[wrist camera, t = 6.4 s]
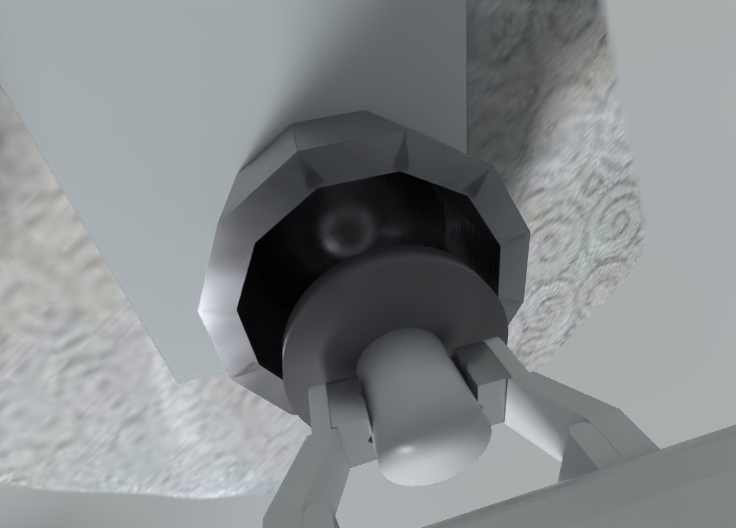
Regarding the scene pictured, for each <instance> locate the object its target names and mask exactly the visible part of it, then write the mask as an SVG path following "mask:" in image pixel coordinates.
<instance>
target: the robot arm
mask: <svg viewBox="0 0 736 528" xmlns="http://www.w3.org/2000/svg"><path fill="white" fill-rule="evenodd" d="M451 358H452V360H453V362H454V363H455V365H456V367H457V368H458V370H459V372H460V373H461V375H462V377H463V378H464V380H465V382H466V383H467V385H468V387H469V388H470V390H471V392H472V393H473V395H474V397H475V398H476V400H477V402H478V403H479V405H480V407H481V408H482V410H483V412H484V413H485V415H486V417H487V418H488V420H489V422H490V424H491V425H494V424H498V423H502V422H505V424H506V425H508V426H509V427H511V428H512V429H514V430H515V431H517V432H518V433H519V434H521V435H523V436H524V437H526V438H527V439H528V440H530V441H531V442H532V443H534V444H535V445H537V446H538V447H540V448H541V449H543V450H544V451H546V452H547V453H549V454H550V455H551V456H553V457H554V458H556V459H557V460H559V461H561V462H562V465H561V469H560V474H559V478H558V483H557V484H554V485H550V486H547V487H544V488H541V489H538V490H536V491H532V492H529V493H526V494H523V495H520V496H517V497H514V498H511V499H508V500H505V501H502V502H499V503H495V504H492V505H489V506H487V507H483V508H480V509H477V510H474V511H471V512H468V513H465V514H462V515H459V516H456V517H453V518H450V519H447V520H444V521H441V522H438V523H435V524H432V525H429V526H426V527H422V528H736V425H734V426H730V427H727V428H724V429H721V430H718V431H715V432H712V433H709V434H706V435H703V436H700V437H697V438H694V439H691V440H688V441H685V442H681V443H678V444H675V445H673V446H669V447H666V448H663V449H659V448H658V447H657V446H656V445H655V444H654V443H653V442H652V441H651V440H650V439H649V438H648V437H647V436H646V435H645V434H644V433H643V432H642V431H641V430H640V429H639V428H638V427H637V426H636V425H635V424H634V423H633V422H632V421H631V420H630V419H629V418H628V417H627V416H626V415H625V414H624V413H623V412H622V411H621V410H620V409H618V408H616V407H613V406H611V405H609V404H607V403H604V402H602V401H600V400H598V399H595V398H593V397H591V396H589V395H586V394H584V393H582V392H579V391H577V390H575V389H573V388H570V387H568V386H566V385H563V384H561V383H559V382H557V381H554V380H552V379H550V378H548V377H545V376H543V375H541V374H539V373H536V372H530V373H529V372H528V370H527V369H526V368H525V367H524V366H523V364H522V363H521V362H520V361H519V360H518V359H517V357H516V356H515V355H514V354H513V353H512V351H511V350H510V349H509V348H508V347H507V346H506V344H505V343H504V342H503V341H502V340H501V338H499V337H493V338H490V339H486V340H482V341H479V342H475V343H472V344H468V345H464V346H461V347H457V348H454V349H452V350H451ZM308 394H309V405H310V417H311V428H312V435H309V436H307V437H306V439H305V441H304V443H303V445H302V447H301V448H300V450H299V452H298V454H297V456H296V458H295V460H294V462H293V463H292V465H291V467H290V469H289V471H288V473H287V475H286V477H285V478H284V480H283V482H282V484H281V486H280V488H279V490H278V491H277V493H276V495H275V497H274V499H273V501H272V503H271V505H270V507H269V508H268V510H267V512H266V514H265V516H264V518H263V528H339V525H338V522H337V520H336V517H335V514H336V511H337V508H338V505H339V502H340V499H341V496H342V493H343V489H344V487H345V483H346V481H347V477H348V474H349V471H350V469H349V468H352V467H355V466H358V465H361V464H364V463H367V462H370V461H373V460H376V459H377V456H376V452H375V448H374V444H373V440H372V436H371V435H372V430H371V426H370V421H369V417H368V413H367V409H366V405H365V401H364V397H363V394H362V389H361V385H360V381H359V378H358V375H355V376H351V377H347V378H343V379H338V380H334V381H330V382H326V383H323V384H319V385H315V386H311V387H309V391H308Z"/></svg>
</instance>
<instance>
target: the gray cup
mask: <svg viewBox="0 0 736 528" xmlns="http://www.w3.org/2000/svg"><path fill="white" fill-rule="evenodd" d="M436 192H437V193H436ZM437 194H438V195H439V197H440V200H439V198H438V195H437ZM529 240H530V231H529V229H528V227H527V225H526V224H525V222H524V220H523V218H522V217H521V215H520V213H519V211H518V210H517V208H516V206H515V204H514V202H513V201H512V199H511V197H510V195H509V194H508V192H507V190H506V188H505V187H504V185H503V183H502V181H501V180H500V178H499V176H498V174H497V173H496V171H495V169H494V167H493V166H492V165H490V164H488V163H486V162H483V161H481V160H479V159H477V158H475V157H472V156H470V155H468V154H466V153H464V152H462V151H459V150H457V149H455V148H453V147H451V146H449V145H446V144H444V143H442V142H440V141H438V140H436V139H433V138H431V137H429V136H427V135H424V134H422V133H420V132H417V131H415V130H412V129H410V128H408V127H405V126H403V125H400V124H398V123H396V122H393V121H391V120H389V119H386V118H384V117H381V116H379V115H377V114H374V113H372V112H369V111H367V110H361V111H356V112H350V113H345V114H339V115H334V116H329V117H323V118H318V119H312V120H307V121H301V122H296V123H292V124H290V125H289V126H288V127H287V128H286V129H285V130H284V131H283V132H281V133H280V134H279V135H278V136H277V137H276V138H275V139H274V140H273V141H272V142H271V143H270V144H269V145H267V146H266V147H265V148H264V149H263V150H262V151H261V152H260V153H259V154H258V155H257V156H256V157H255V158H253V159H252V160H251V161H250V162H249V163H248V164H247V165H246V166H245V167H244V168H243V169H242V170H241V171H239V172H238V173H237V175H236V178H235V180H234V183H233V185H232V188H231V191H230V193H229V196H228V198H227V201H226V203H225V206H224V209H223V211H222V214H221V216H220V219H219V222H218V224H217V229H216V233H215V237H214V242H213V246H212V250H211V255H210V259H209V264H208V268H207V272H206V277H205V281H204V286H203V290H202V294H201V299H200V303H199V308H198V313H199V315H200V317H201V319H202V321H203V323H204V325H205V327H206V329H207V331H208V334H209V336H210V338H211V340H212V342H213V344H214V346H215V348H216V350H217V352H218V354H219V356H220V358H221V360H222V363H223V365H224V367H225V369H226V371H227V373H228V375H229V377H230V379H232V380H233V381H235V382H237V383H239V384H240V385H242V386H244V387H245V388H247V389H249V390H250V391H252V392H254V393H256V394H257V395H259V396H261V397H262V398H264V399H266V400H267V401H269V402H271V403H273V404H274V405H276V406H278V407H279V408H281V409H283V410H285V411H286V412H288V413H290V414H292V415H297V413H296V412H295V411H294V409H293V408H292V406H291V404H290V403H289V401H288V398H287V395H286V392H285V389H284V383H283V337H284V331H285V327H286V324H287V321H288V319H289V316H290V314H291V312H292V310H293V308H294V306H295V305H296V303H297V302H298V300H299V299H300V297H301V296H302V295H303V293H304V292H305V291H306V290H307V289H308V288H309V287H310V286H311V284H312V283H313V282H314V281H315V280H317V279H318V278H319V277H320V276H321V275H323V274H324V273H325V272H326V271H328V270H329V269H331V268H332V267H334V266H335V265H337V264H339V263H340V262H342V261H344V260H346V259H348V258H350V257H352V256H354V255H357V254H360V253H362V252H365V251H368V250H371V249H375V248H380V247H384V246H392V245H402V244H404V245H421V246H428V247H433V248H436V249H439V250H443V251H445V252H448V253H450V254H452V255H454V256H456V257H457V258H459V259H460V260H462V261H463V262H465V263H466V264H467V265H468V266H469V267H470V268H471V269H472V270H473V271H475V273H476V274H477V275H478V276H479V277H480V278H481V279H482V280H483V281H484V282H485V283H486V284H487V285H488V286H489V287H490V288H491V289H492V290H493V291H494V292H495V294H496V295H497V297H498V298H499V299H500V301H501V304H502V306H503V308H504V310H505V314H506V317H507V323H508V325H509V323H510V322H511V320H512V319H513V317H514V316H515V314H516V313H517V311H518V310H519V308H520V306H521V305H522V303H523V302H524V292H525V281H526V271H527V261H528V251H529ZM253 253H254V254H253ZM263 282H264V283H265V285H264V283H263Z"/></svg>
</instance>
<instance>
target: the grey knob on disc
mask: <svg viewBox="0 0 736 528" xmlns="http://www.w3.org/2000/svg"><path fill="white" fill-rule="evenodd" d="M493 337H499V338H501V340H502V341H503V342H504V343H505V344H506V346H507V342H508V323H507V317H506V314H505V310H504V308H503V306H502V304H501V301H500V299H499V298H498V297H497V295H496V294H495V292H494V291H493V290H492V289H491V288H490V287H489V286H488V285H487V284H486V283H485V282H484V281H483V280H482V279H481V278H480V277H479V276H478V275H477V274H476V273H475V271H473V270H472V269H471V268H470V267H469V266H468V265H467V264H466V263H465V262H463V261H462V260H460V259H459V258H457V257H456V256H454V255H452V254H450V253H448V252H445V251H443V250H439V249H436V248H433V247H428V246H421V245H404V244H402V245H392V246H384V247H380V248H375V249H371V250H368V251H365V252H362V253H360V254H357V255H354V256H352V257H350V258H348V259H346V260H344V261H342V262H340V263H339V264H337V265H335V266H334V267H332V268H331V269H329V270H328V271H326V272H325V273H324V274H323V275H321V276H320V277H319V278H318V279H317V280H315V281H314V282H313V283H312V284H311V286H310V287H309V288H308V289H307V290H306V291H305V292H304V293H303V295H302V296H301V297H300V299H299V300H298V302H297V303H296V305H295V306H294V308H293V310H292V312H291V314H290V316H289V319H288V321H287V324H286V327H285V331H284V337H283V383H284V389H285V392H286V395H287V398H288V401H289V403H290V404H291V406H292V408H293V409H294V411H295V412H296V413H297V415H298V416H299V417H300V418H301V419H302V420H303V421H304V422H305V423H307V424H308V425H309V426H310V427H311V417H310V405H309V394H308V391H309V387H311V386H315V385H319V384H323V383H326V382H330V381H334V380H338V379H343V378H347V377H351V376H355V375H358V378H359V381H360V385H361V389H362V394H363V397H364V401H365V405H366V409H367V413H368V417H369V421H370V426H371V430H372V435H371V436H372V440H373V444H374V448H375V452H376V456H377V460H378V464H379V468H380V470H381V472H382V474H383V475H384V476H385V477H386V478H387V479H388V480H390V481H392V482H394V483H396V484H400V485H404V486H424V485H430V484H434V483H438V482H441V481H444V480H446V479H449V478H451V477H453V476H455V475H457V474H459V473H460V472H462V471H463V470H465V469H466V468H468V467H469V466H470V465H472V464H473V463H474V462H475V461H476V460H477V459H478V458H479V457H480V456H481V455H482V453H483V452H484V451H485V449H486V447H487V446H488V443H489V441H490V437H491V424H490V422H489V420H488V418H487V417H486V415H485V413H484V412H483V410H482V408H481V407H480V405H479V403H478V402H477V400H476V398H475V397H474V395H473V393H472V392H471V390H470V388H469V387H468V385H467V383H466V382H465V380H464V378H463V377H462V375H461V373H460V372H459V370H458V368H457V367H456V365H455V363H454V362H453V360H452V358H451V350H452V349H454V348H457V347H461V346H464V345H468V344H472V343H475V342H479V341H482V340H486V339H490V338H493Z"/></svg>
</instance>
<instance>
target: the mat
mask: <svg viewBox="0 0 736 528" xmlns="http://www.w3.org/2000/svg"><path fill="white" fill-rule="evenodd" d="M0 86H1V88H2V89H3V91H4V93H5V94H6V96H7V98H8V99H9V101H10V103H11V104H12V106H13V108H14V109H15V111H16V113H17V114H18V116H19V118H20V119H21V121H22V123H23V125H24V126H25V128H26V130H27V131H28V133H29V135H30V136H31V138H32V140H33V141H34V143H35V145H36V146H37V148H38V150H39V151H40V153H41V155H42V156H43V158H44V160H45V162H46V163H47V165H48V167H49V168H50V170H51V172H52V173H53V175H54V177H55V178H56V180H57V182H58V183H59V185H60V187H61V188H62V190H63V192H64V193H65V195H66V197H67V199H68V200H69V202H70V204H71V205H72V207H73V209H74V210H75V212H76V214H77V215H78V217H79V219H80V220H81V222H82V224H83V225H84V227H85V229H86V230H87V232H88V234H89V236H90V237H91V239H92V241H93V242H94V244H95V246H96V247H97V249H98V251H99V252H100V254H101V256H102V257H103V259H104V261H105V262H106V264H107V266H108V267H109V269H110V271H111V273H112V274H113V276H114V278H115V279H116V281H117V283H118V284H119V286H120V288H121V289H122V291H123V293H124V294H125V296H126V298H127V299H128V301H129V303H130V304H131V306H132V308H133V310H134V311H135V313H136V315H137V316H138V318H139V320H140V321H141V323H142V325H143V326H144V328H145V330H146V331H147V333H148V335H149V336H150V338H151V340H152V341H153V343H154V345H155V347H156V348H157V350H158V352H159V353H160V355H161V357H162V358H163V360H164V362H165V363H166V365H167V367H168V368H169V370H170V372H171V373H172V375H173V377H174V378H175V380H176V382H177V383H182V382H186V381H190V380H194V379H197V378H201V377H205V376H209V375H213V374H217V373H221V372H224V371H226V369H225V367H224V365H223V363H222V360H221V358H220V356H219V354H218V352H217V350H216V348H215V346H214V344H213V342H212V340H211V338H210V336H209V334H208V331H207V329H206V327H205V325H204V323H203V321H202V319H201V317H200V315H199V313H198V308H199V303H200V299H201V294H202V290H203V286H204V281H205V277H206V272H207V268H208V264H209V259H210V255H211V250H212V246H213V242H214V237H215V233H216V229H217V224H218V222H219V219H220V216H221V214H222V211H223V209H224V206H225V203H226V201H227V198H228V196H229V193H230V191H231V188H232V185H233V183H234V180H235V178H236V175H237V173H238V172H239V171H241V170H242V169H243V168H244V167H245V166H246V165H247V164H248V163H249V162H250V161H251V160H252V159H253V158H255V157H256V156H257V155H258V154H259V153H260V152H261V151H262V150H263V149H264V148H265V147H266V146H267V145H269V144H270V143H271V142H272V141H273V140H274V139H275V138H276V137H277V136H278V135H279V134H280V133H281V132H283V131H284V130H285V129H286V128H287V127H288V126H289V125H290V124H292V123H296V122H301V121H307V120H312V119H318V118H323V117H329V116H334V115H339V114H345V113H350V112H356V111H361V110H367V111H369V112H372V113H374V114H377V115H379V116H381V117H384V118H386V119H389V120H391V121H393V122H396V123H398V124H400V125H403V126H405V127H408V128H410V129H412V130H415V131H417V132H420V133H422V134H424V135H427V136H429V137H431V138H433V139H436V140H438V141H440V142H442V143H444V144H446V145H449V146H451V147H453V148H455V149H457V150H459V151H462V152H464V153H466V154H467V2H466V0H0ZM436 193H437V192H436ZM437 195H438V194H437ZM438 198H439V200H440V197H439V195H438ZM253 254H254V253H253ZM263 283H264V282H263ZM264 285H265V283H264Z"/></svg>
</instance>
